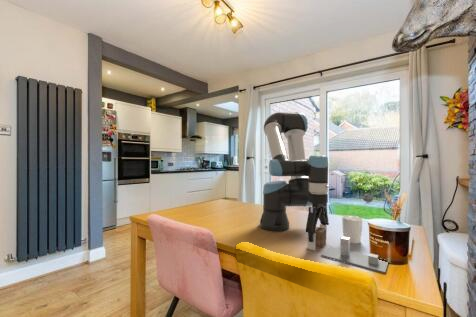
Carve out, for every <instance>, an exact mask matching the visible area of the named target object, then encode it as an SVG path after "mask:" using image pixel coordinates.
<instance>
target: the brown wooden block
mask: <svg viewBox="0 0 476 317" xmlns="http://www.w3.org/2000/svg"><path fill="white" fill-rule="evenodd" d="M315 233H316V235H315V248H318V247H319V249H323V248H324V247H325V246H326V245H327V232H326V229H325V228H320V226H316V229H315ZM322 247H323V248H322Z"/></svg>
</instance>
